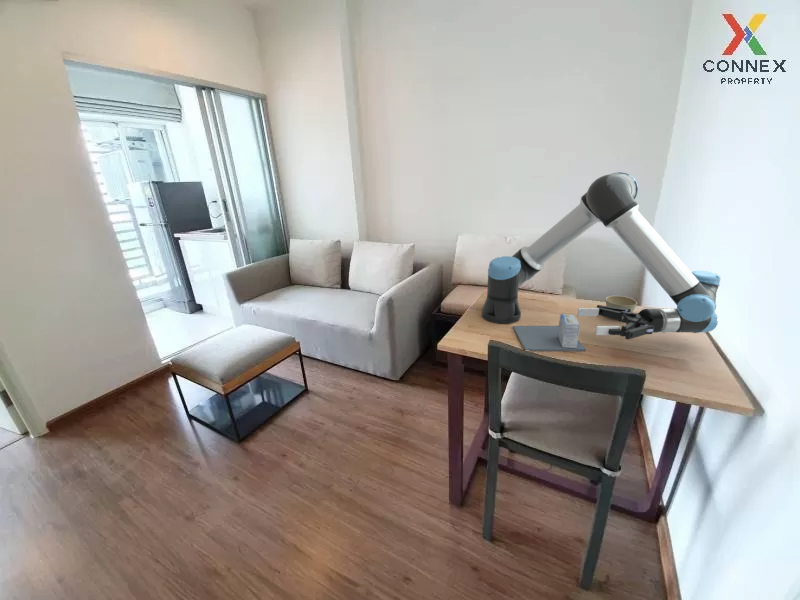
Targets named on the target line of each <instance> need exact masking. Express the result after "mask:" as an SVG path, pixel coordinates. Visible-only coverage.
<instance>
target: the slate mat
mask: <svg viewBox="0 0 800 600" xmlns="http://www.w3.org/2000/svg"><path fill="white" fill-rule="evenodd" d="M512 328H513V331H514V332H515V334H516V336H517V338H518V340H519V342H520V344H521V346H522V348H523V350H524V349H525V350H529V351H528V352H586V351H587V349H586V347H585V345H583V344H582V343H581V341H580V340H579V339H578V341H577V348H566V347H562V345H561V343H560V340H559V338H558V328H559V325H513V326H512ZM525 350H524V351H525Z"/></svg>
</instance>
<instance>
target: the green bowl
mask: <svg viewBox="0 0 800 600" xmlns="http://www.w3.org/2000/svg"><path fill="white" fill-rule="evenodd" d="M637 305H638V301H636V300H635V299H634V298H632V297H629V296H624V295H610V296H606V298H605V306H609V307H616V308H624V309H631V312H633V313H634V310H635V309H636V307H637ZM623 317H624V316H623ZM622 319H623V318H622ZM615 320H618V319H615ZM618 321H619V320H618Z"/></svg>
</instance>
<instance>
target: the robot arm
mask: <svg viewBox="0 0 800 600" xmlns="http://www.w3.org/2000/svg"><path fill="white" fill-rule="evenodd" d="M638 193H639V185H638V182H637V179H635V177H634V176H632V175H631V174H628V173H627V172H621V171H620V172H619V171H618V172H613V173H610V174H604V175H602V176H600V177H598V178H596V179H595V180H594V181H593V182H592V183H591V184H590V186H589V187H588V189H587V191H586V192H585V193H584V194H583V195H582V196H581V197H580V202H579V204H578V205H577V206H576V207H574V209H572V210H571V211H570V212H569V213H567V214H566V215H565V216H564V217H562V218H561V219H560V220H559V221H557V223H555V224H554V225H553V226H552V227H551V228H549V229H548V230H547V231H546V232H545V233H544V234H542V235H541V236H540V237H539V238H537V240H536V241H534V242H533V243H532V244H531V245H529V246H522V247H521V248H520V249H519V250H517V251H516V252H515V253H514V254H513V255H511V256H507V255H504V256H500V257H495V258H493V259H492V260H490V261H489V265H488V270H487V291H486V292H487V293H486V299H485V301H484V304H483V306H482V307H481V316H482V318H483V319H484V320H486V321H487V322H490V323H493V324H500V325H501V324H502V325H507V324H508V325H509V324H514V323H517V322H518V321H520V319H521V316H522V315H521V313H522V311H521V308H520V303H519V300H518V296H519V287H520V285H521V286H522V284H523V283H526V282H527V281H529V280H531V279H532V278H534V276H535V275H537V273H539V272H540V271H542V270H543V268H544V263H546V262H547V261H548V260H550V259H551V258H553V256H554V255H556V254H558V253H559V252H560V251H561V250H563V249H564V248H565V247H567V246H568V245H569V244H570V243H572V242H573V241H574V240H576V239H577V238H579V237H580V236H581V235H582V234H583V233H585V232H587V231H588V230H589V229H590V228H591V227H593V226H595V224H597V223H602V224H603V226H604V227H605V228H610V229H612V230H613V231H614V232H615V234H616V235H617V236H618V237H619V238H620V240H621V241H622V242H623V243H624V244H625V246H627V248H628V249H629V250H630V251H631V253H632V254H633V255H634V256H635V258H636V259H638V261H639V262H640V263H641V264H642V266H643V267H644V268H645V270H646V271H647V272H649V274H650V275H651V276H652V278H654V280H655V281H656V282H657V283H658V284H659V285H660V287H661V288H662V289H663V291H664V292H666V294H667V295H668V296H669V297H670V299H671V300H672V301H673V302H674V303H675V305H676V308H642V309H641V310H640V311H638V312H634V311H633V312H631V309H624V308H616V307H609V306H606V305H600V304H597V305H596V307H578V308H577V315H576V317H599V316H602V317H606V318H610V319H613V320H616V319H618V321H619V322H621V323H625V324H624V325H621V326H620V325H596V327H595V328H596V329H595V332H594V333H595V335H596V336H619V337H625V340H632V339H636V338H639V337H642V336H646V335H653V333H662V334H665V333H692V334H698V333H709V332H712V331H714V330H715V329H716V328H717V326H718V324H719V321H718V314H717V313H716V309H717V304H716V303H717V302H716V300H717V292H718V289H719V287H720V283H721V278H722V277H721V275H719V274H718V273H716V272H711V271H707V270H692V271H691V270H690V268H688V266H686V264H685V263H684V262H683V261H682V259H681V258H680V257H679V256H678V254H676V253H675V251H674V250H673V249H672V248H671V247H670V246H669V245H668V243H666V241H665V240H664V239H663V238H662V237H661V235H660V234H659V233H658V232H657V231H656V230H655V228H654V227H652V225H651V224H650V223H649V221H648V220H647V219H646V218H645V217H644V216H643V215H642V213H640V212H639V208H640V207H639V204H638V202H637V201H636V200H635V199H636V198H637V196H638ZM623 316H624V317H623ZM622 318H623V319H622Z"/></svg>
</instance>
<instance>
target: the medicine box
mask: <svg viewBox="0 0 800 600" xmlns="http://www.w3.org/2000/svg"><path fill="white" fill-rule="evenodd" d="M558 323H559V324H558V326H559V328H558V338H559V340H560V343H561V345H562V347H566V348H577V341H578V340H579V334H580V328H581V327H580V326H581V325H580V322H579V321H578V319H577V316H575V314H565V313H564V314H563V313H562V314H561V313H560V315H559V321H558Z"/></svg>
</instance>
